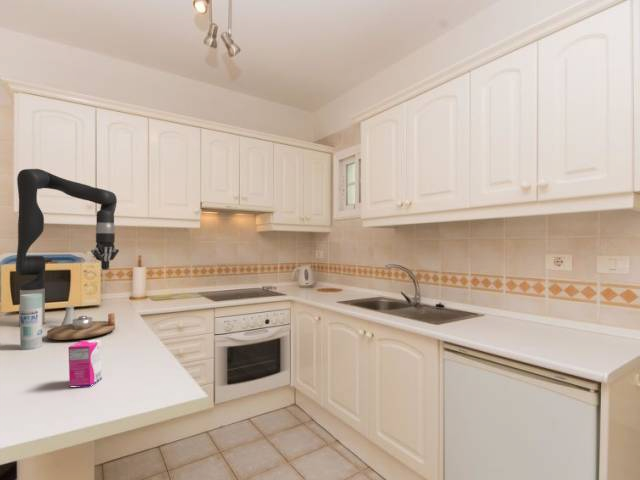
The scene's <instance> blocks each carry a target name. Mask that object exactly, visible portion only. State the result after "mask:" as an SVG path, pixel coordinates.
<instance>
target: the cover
mask: <svg viewBox="0 0 640 480" xmlns="http://www.w3.org/2000/svg"><path fill="white" fill-rule="evenodd" d="M92 321H93V317H91V316H87V315H80V316H78V317H76V319H73V330H83V329H88V328H91V327H92Z"/></svg>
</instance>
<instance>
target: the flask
mask: <svg viewBox="0 0 640 480" xmlns="http://www.w3.org/2000/svg"><path fill="white" fill-rule="evenodd" d="M74 309H75V305H66V306H65V315H64V317H63V320H62V322H61V325H60V326H63V325H68V324H73V319H76V318H77V317H76V315H75V310H74Z"/></svg>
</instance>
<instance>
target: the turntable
mask: <svg viewBox="0 0 640 480" xmlns="http://www.w3.org/2000/svg"><path fill="white" fill-rule="evenodd" d="M115 315H116V313H108V315H107V317H108V319H107V321H105V320H95V321H94V320H92V327H91V328H88V329H83V330H73V324H68V325H63V326H61V325H59V326H56V327H52V328H51V329H48V330H47V331H46V337H47V338H48V339H49V340H57V341H58V340H60V341H63V340H79V338H82V339H86V338H87V337H89V338H93V337H97V336H101V335H105V334H108V333H111V332H113V331H114V330H115V329H116V323H115V322H116V321H115V319H116V318H115V317H116V316H115ZM87 339H88V338H87Z"/></svg>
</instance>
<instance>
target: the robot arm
mask: <svg viewBox="0 0 640 480" xmlns="http://www.w3.org/2000/svg"><path fill="white" fill-rule="evenodd" d="M16 178H17V179H16V182H17V191H18V217H17V219H18V220H17V234H18V235H17V252H16V257H15V258H16V259H15V272H16V274H17V275H18V276H22V277H23V276H35V277H34V278H33V279H31V280H28V281H24V282H22V283H20V285H19V297H20V296H21V295H25V294H36V293H40V294H42V325H44V324H45V323H46V322H45V321H46V319H45V318H46V317H45V316H46V315H45V314H46V312H45V311H46V309H45V307H46V306H45V304H46V300H45V299H46V296H45V292H46V291H45V290H46V288H45V287H46V285H45V282H46V280H45V279H46V278H45V276H46V259H45V256H43V255H27V254H28V251H29V249H30V248H31V246H33V244H34V243H35V242H36V240H37V239H38V238H39V237H40V236H41V235H43V234H42V233H43V232H44V228H45V224H44V223H45V219H44V218H45V217H44V214H43V212H42V209H41V208H40V206H39V203H38V199H37V198H38V197H37V196H38V190H42V189H49V190H55V191H59V192H62V193H64V194H65V195H67V196H69V197H73V198H77V199H79V200H84V201H89V202H91V203H95V204H98V205H100V210H98V211H97V212H96V226H95V243H96V245H95V248H94V249H91V250H90V253H92V255H93V256H94V258H95V259H96V260H97V261H100V263H101V264H100V266H101V269H102V270H105V271H107V270H109V269H110V262H111V261H112V260H114V259H115V257H116V256H117V255H118V254H119V252H120V250H119V249H117V248H115V247H116V246H115V241H116V240H115V238H116V230H115V228H116V227H115V211H116V208H117V196H116V194H115V193H114V192H113V191H109V190H106V189H103V188H98V187H94V186H91V185H87V184H85V183H82V182H76V181H72V180H68V179H65V178H63V177H59V176H58V175H55V174H52V173H50V172H48V171H46V170H43V169H41V168H26V169H21V170H20V171H19V172H18V174H17V176H16ZM18 307H19V308H18V323H19V324H18V326H20V305H19V306H18Z"/></svg>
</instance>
